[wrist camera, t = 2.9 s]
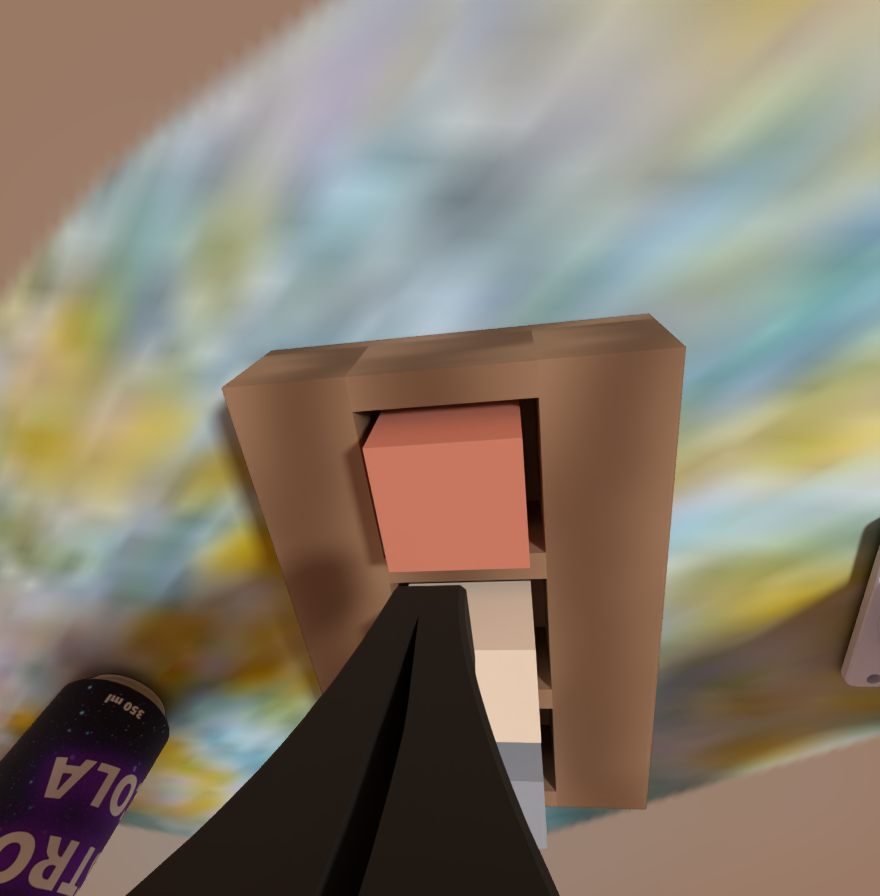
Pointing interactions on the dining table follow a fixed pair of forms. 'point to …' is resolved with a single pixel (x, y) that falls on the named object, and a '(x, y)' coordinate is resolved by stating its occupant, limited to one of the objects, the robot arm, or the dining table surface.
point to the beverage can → (74, 782)
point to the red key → (450, 486)
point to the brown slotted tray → (547, 499)
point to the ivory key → (505, 656)
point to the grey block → (527, 784)
